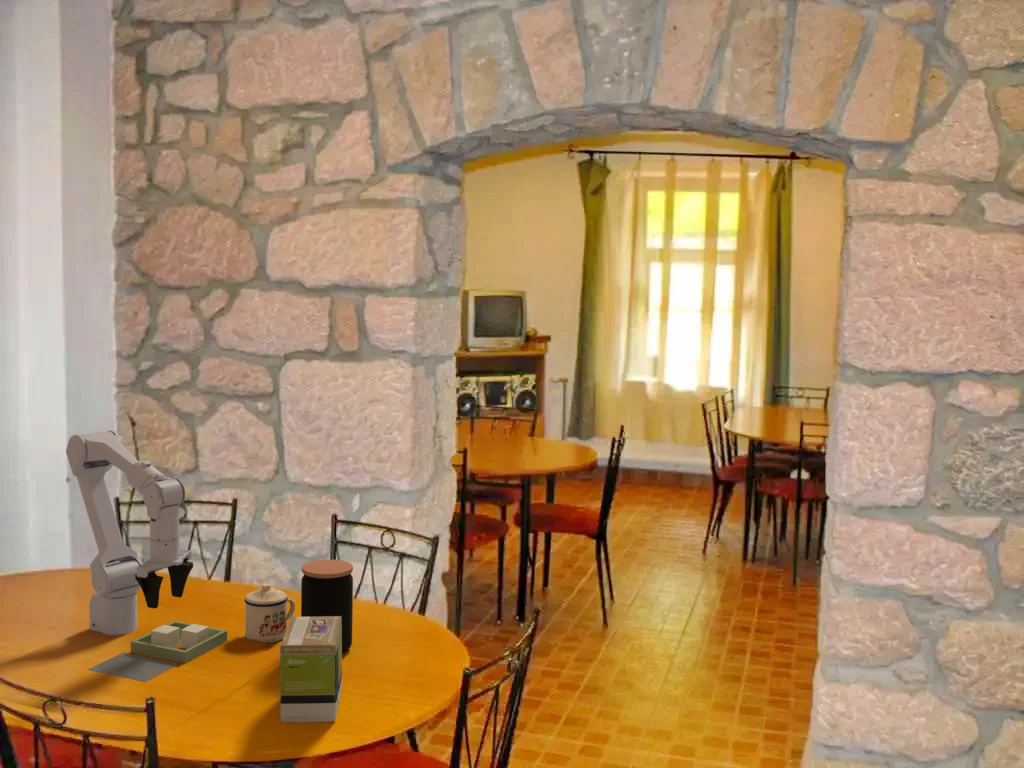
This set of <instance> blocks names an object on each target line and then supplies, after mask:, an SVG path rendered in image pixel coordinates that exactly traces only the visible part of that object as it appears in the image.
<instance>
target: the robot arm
mask: <svg viewBox="0 0 1024 768" xmlns="http://www.w3.org/2000/svg"><path fill="white" fill-rule="evenodd" d="M65 453H66V457H67V461H68V463H69V466H70V470H71V473H72V476H74V477H76V480H77V483H78V486H79V490H80V492H81V497H82V501H83V503H84V506H85V511H86V513H87V516H88V517H87V518H88V520H89V524H90V526H91V531H92V533H93V538H94V540H95V543H96V547H97V550H98V554H96V556H95V558H93V560H92V561H91V562H90V565H89V567H90V572H91V584H92V588H93V590H94V591H95V592H94V593H93V594H92V595H91V597H90V600H89V605H88V611H89V615H88V618H89V619H88V620H89V626H88V627H89V630H90V631H95V632H98V633H101V634H105V635H108V636H122V635H127V634H130V633H133V632H134V631H137V629H138V607H137V606H138V598H137V595H138V594H137V592H139V591H140V590H142V593H143V596H144V600H145V602H146V606H147V607H146V608H150V609H158V607H159V603H160V601H159V600H160V590H161V585H162V583H163V580H164V576H160V575H158V574H157V572H159V571H161V570H164V569H167V571H168V574H169V575H168V576H169V580H170V592H171V596H172V597H175V598H178V599H180V598H182V597H183V595H184V591H185V587H186V583H187V580H188V577H189V576H190V573H191V571H192V570H193V568H194V562H193V561H191V560H192V550H190V549H181V550H180V506H181V505H182V504H183V503H184V502H185V500H186V489H185V485H184V483H183V482H182V481H181V480H180V479H179V478H178V477H167V476H165V475H164V474H163V473H162V472H160V470H158V469H157V468H156V467H155V466H153V465H152V463H151V462H150V461H149V460H141V461H140V460H137V458H136V457H135V456H134V455H133V454H132V453H131V452H130V451H129V450H128V449H127V448H126V447H125V446H124V443H123V438H122V436H121V435H119V434H118V433H117V432H116V431H115V430H112V429H111V430H110V429H109V430H107V431H100V432H93V433H92V432H91V433H86V434H85V433H84V434H73V435H71V436H70V438H69V439H68V442H67V446H66V450H65ZM113 466H114V467H116V469H118V470H120V471H121V472H123V473H124V474H126V477H125V478H126V482H127V483H128V484H129V485H130V486H131V487H132V488H134V489H135V490H136V491H137V492H139V494H140V495H142V497H143V502H144V504H145V507H146V515H147V517H148V518H149V559H148V560H146V561H145V562H144V563H143V562H142V561H141V559H140V558H139V555H138V552H137V550H135V549H133V548H131V547H128V546H127V545H125V544H124V540H123V537H122V534H121V533H122V532H121V531H120V528H119V524H118V521H117V518H116V513H115V510H114V507H113V503H112V501H111V497H110V494H109V492H108V487H107V484H106V482H105V481H106V480H105V476H106V473H107V472H110V470H111V469H112V468H113Z"/></svg>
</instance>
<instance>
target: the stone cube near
mask: <svg viewBox="0 0 1024 768" xmlns="http://www.w3.org/2000/svg"><path fill="white" fill-rule="evenodd" d="M150 631H151V644H155V645H160V646H165V647H170V648H175V649H177V648H179V647H181V634H180V628H179V627H174V626H169V625H167V624H163V625H160V626H159V627H156V628H154V629H152V630H150Z"/></svg>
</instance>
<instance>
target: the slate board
mask: <svg viewBox="0 0 1024 768" xmlns="http://www.w3.org/2000/svg"><path fill="white" fill-rule="evenodd" d="M180 664H181V662H179V663H178V662H176V661H171V660H166V659H161V658H156V657H151V656H146V655H144V656H143V655H141V654H136V653H132V652H131V653H129V652H125V651H124V652H123V651H122V652H121V653H119V654H116V655H115V656H113V657H110V658H109V659H107V660H104V661H103V662H99V663H98V664H95V665H94V666H92V667H90V668H87V670H88V671H90V672H91V671H92V672H95V673H101V674H105V675H111V676H115V677H120V678H125V679H129V680H134V681H138V682H144V683H147V682H148V681H151V680H152V679H154V678H157V677H158V676H160V675H162V674H163V673H166V672H168V671H169V670H171V669H173V668H175V667H177V666H178V665H180Z"/></svg>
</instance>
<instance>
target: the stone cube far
mask: <svg viewBox="0 0 1024 768" xmlns="http://www.w3.org/2000/svg"><path fill="white" fill-rule="evenodd" d="M191 624H192V625H190V626H188V627H186V628H184V629H182V630H181V634H180V648H181V649H185V650H187V649H188V648H190V647H192V646H194V645H196V644H198V643H200V642H202V641H204V640H206V639H208V638H209V627H210V626H207V625H202V624H201V625H200V624H197V623H191Z"/></svg>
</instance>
